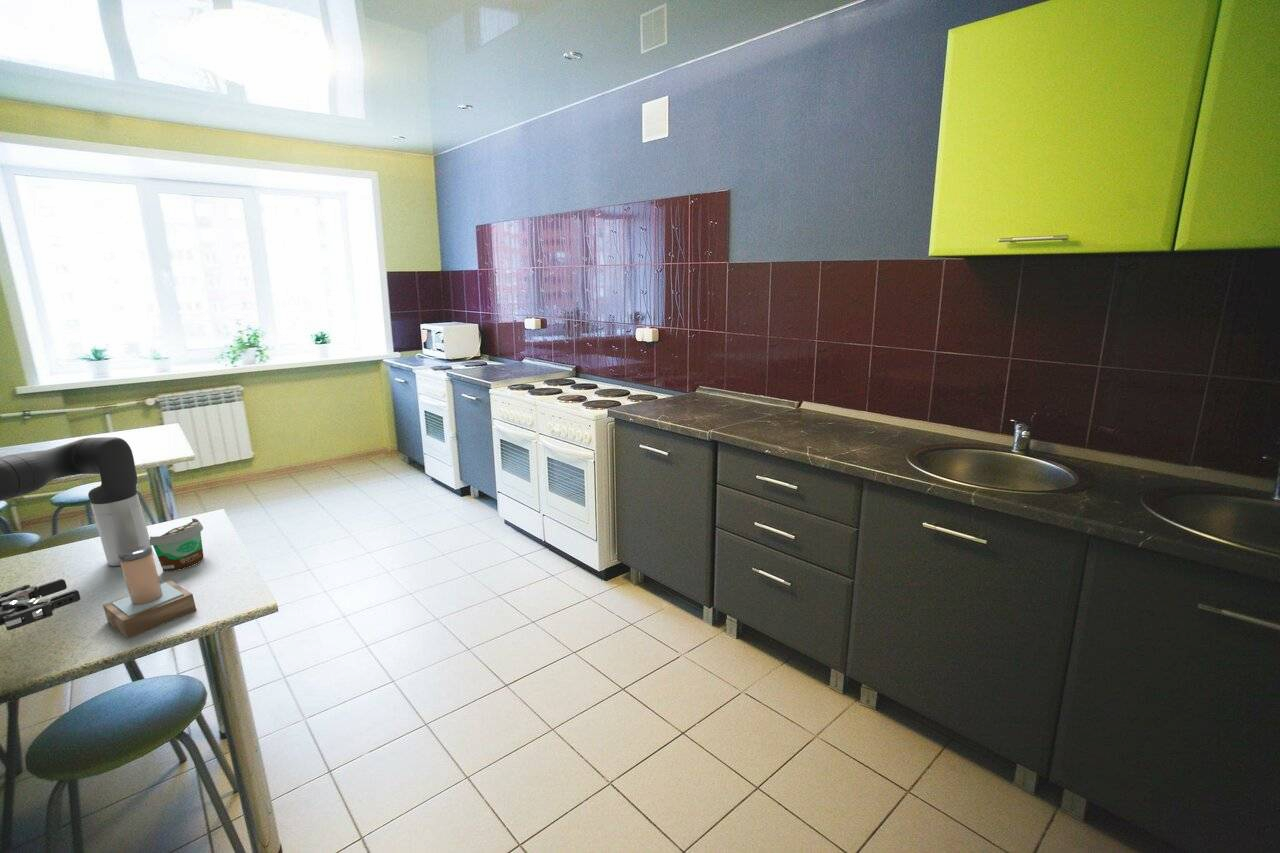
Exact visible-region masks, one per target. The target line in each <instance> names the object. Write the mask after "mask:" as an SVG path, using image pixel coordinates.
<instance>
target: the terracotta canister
mask: <svg viewBox="0 0 1280 853" xmlns="http://www.w3.org/2000/svg"><path fill="white" fill-rule="evenodd" d="M152 550H153V548H152V549H151V547H149V546H142V547H136V548H132V549H129V550H126V551H124V552H122V553H120V554H119V555H118V559H119V561H120V563H121V566H120V567H121V569H122V574H123V577H124V581H125V584H126V587H127V591H128V596H129V595H130V599H131V602H132V604H133V605H143V604H147V603H150V602H153V601H155V600H157V599H159V598H160V597H162V595H163V593H162V589H161V585H160V584H161V583H160V578H159V574H158V571H157V568H156V567H157V566H156V563H155V559H154V555H153V554H152Z"/></svg>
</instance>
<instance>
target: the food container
mask: <svg viewBox="0 0 1280 853" xmlns="http://www.w3.org/2000/svg"><path fill="white" fill-rule="evenodd" d="M203 529H204V526H203V524H202V522H200V521H199V519H197V518H191V522H189V523H186V524H184V525H182V526H178V527H174V528H172V529H169V531H167V532H165V533H163V534H161V535H158V536H149V538H150V545H151V546H153V547H152V548H153V549H154V551H155V554H156V556H157V559H158V562H159V564H160V566H161V569H162V572H167V571H168V572H175V571H174V570H176V571H180V570H179V569H181V570H184V569H187V567H188V568H190V567H189V566H191V567H192V565H193V566H195V565H197V564H199V563H200V562H199V561H201V560H202V559H203V560H204V558H203V557H204V550H203V542H202V541H203V540H202V534H201V532H202V531H203ZM203 560H202V561H203ZM202 561H201V562H202ZM198 562H199V563H198ZM196 563H197V564H196ZM194 564H195V565H194ZM183 568H184V569H183Z"/></svg>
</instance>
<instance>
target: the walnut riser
mask: <svg viewBox="0 0 1280 853" xmlns="http://www.w3.org/2000/svg"><path fill="white" fill-rule="evenodd" d="M160 585H161V589H162V593H163V595H162V597H160V598H159V599H157V600H155V601H153V602H150V603H147V604H143V605H133V604H132V602H131V599H130V595H129V594H128V595H126V596H122V597H121V598H119V599H115V600H113V601H110V602H107V603H105V604H102V606H103V610H104V613H105V616H106V620H107V622H108V623H109V624H110V625H111V626H113V627H114V628H115V629H116V630H117V631H119V632H120V633H121V634H122V635H124V637H126V638H127V639H130V638H132V637H135V636H137V635H140V634H142V633H143V634H144V633H145V632H147V631H149V630H153V629H154V627H155V628H157V627H160V626H162V625H164V624H166V622H167V623H169V622H171V621H174V620H177V619H178V618H181V617H183V616H186V615H188V614H190V613H193V612H196V611H197V607H196V602H195V598H194V595H193V593H192V592H191V591H189V590H187V589H185V588H184V587H182V586H180V584H179V585H178V584H177V583H176V582H174V581H172V580H167V581H164V582H162V583H160ZM163 623H164V624H163ZM161 624H162V625H161ZM159 625H160V626H159ZM156 626H157V627H156Z"/></svg>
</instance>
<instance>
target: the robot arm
mask: <svg viewBox="0 0 1280 853" xmlns="http://www.w3.org/2000/svg"><path fill="white" fill-rule="evenodd" d="M97 474H98V475H100V476H99V477H100V482H101V483H100V485H99V486H96V487H93V488H92V489H91V490H89V491H88V494H87V496H88V501H89V503H90V507H91V510H92V513H93V517H94V521H95V523H96V527H97V531H98V534H99V537H100V541H101V544H102V549H103V552H104V554H105V559H106V561H107V564H108V566H111V567H121V563H120V561H119V559H118V555H119V554H120V553H122V552H124V551H126V550H129V549H132V548H136V547H142V546H149V547H151V549H152V553H154V551H153V547H152V546H153V545H150V534H149V531H148V528H147V524H146V520H145V516H144V511H143V508H142V505H141V502H140V497H139V493H138V489H137V485H138V475H137V469H136V465H135V459H134V455H133V451H132V448H131V446H130V444H129V443H128V442H127V441H126V440H124V439H123V438H120V437H117V436H116V437H115V436H111V437H110V436H109V437H108V436H105V437H86V438H81V439H78V440H74V441H72V442H68V443H66V444H62V445H59V446H56V447H53V448H49V449H45V450H38V451H37V450H35V451H26V452H20V453H16V454H15V453H14V454H9V455H3V456H0V502H2V501H7V500H10V499H15V498H18V497H21V496H25V495H28V494H30V493H33V492H36V491H38V490H40V489H41V488H43V487H45V486H46V485H47V484H49V483H50V482H52V481H55V480H57V479H60V478H66V477H71V476H77V475H97ZM67 588H68V585H67V583H66V580H65V579H63V578H59V579H57V580H53V581H50V582H47V583H44V584H41V585H32V586H31V585H30V584H24V585H23V586H20V587H16V588H13V589H11V590H7V591H4V592H1V593H0V627H1V626H4V625H5V628H6V631H12V630H15V629H18V628H21V627H25V626H26V625H30V624H32V623H35V622H39V621H41V620H42V621H43V620H45V619H47V618H50V617H52V616H54V612H55V611H56V610H57V609H60V608H62V607H65V606H68V605H71V604H74V603H76V602H80V600H81V594H80V592H79V590H77V589H72V590H69V591H66V592H64V593H60V594H58V595H55V596H52V597H50V598H44V597H48V596H50V595H52V594H56V593H59V592H61V591H65V590H66V589H67ZM41 597H42V598H44V599H40V598H41Z"/></svg>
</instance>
